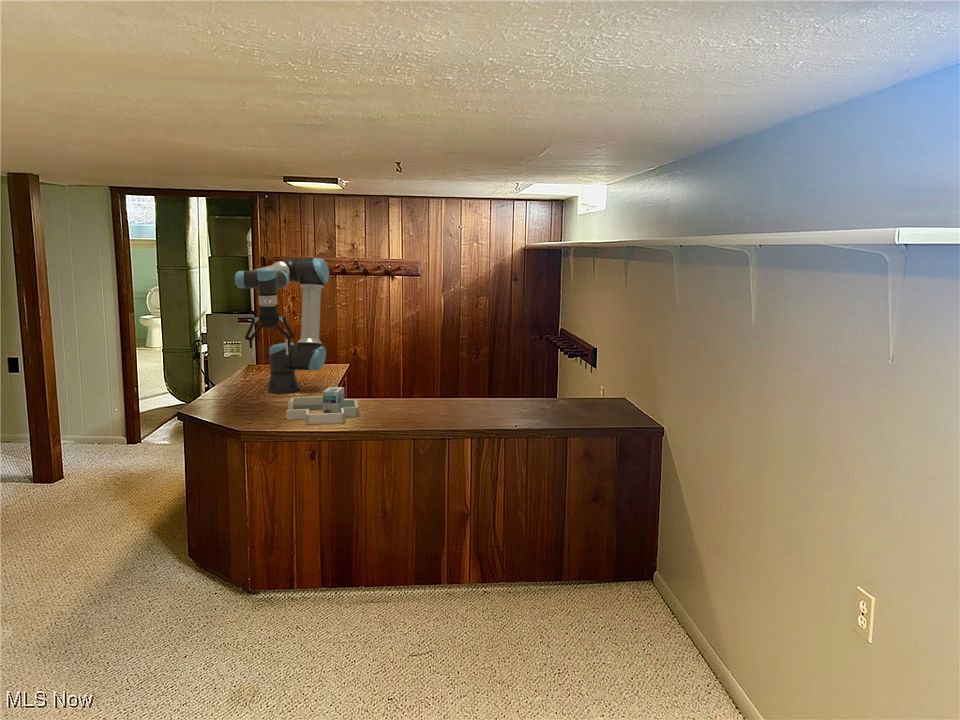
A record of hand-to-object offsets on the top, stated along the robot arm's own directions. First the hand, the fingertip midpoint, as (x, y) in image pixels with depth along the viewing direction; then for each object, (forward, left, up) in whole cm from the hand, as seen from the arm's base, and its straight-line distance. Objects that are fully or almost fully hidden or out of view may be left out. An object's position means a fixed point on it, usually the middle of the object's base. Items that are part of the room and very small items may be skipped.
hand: (270, 355), depth 308 cm
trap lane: (+9, +20, -24) cm, 33 cm away
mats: (+9, +18, -24) cm, 32 cm away
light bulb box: (+10, +26, -25) cm, 37 cm away
